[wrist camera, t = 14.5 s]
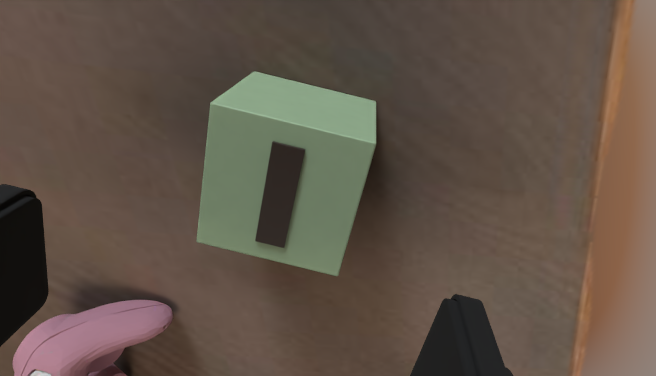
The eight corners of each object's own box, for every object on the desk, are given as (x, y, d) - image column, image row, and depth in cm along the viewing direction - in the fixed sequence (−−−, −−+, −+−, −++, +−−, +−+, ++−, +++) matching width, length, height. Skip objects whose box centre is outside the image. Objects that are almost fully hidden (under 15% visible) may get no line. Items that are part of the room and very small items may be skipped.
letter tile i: (253, 70, 17) (208, 103, 12) (376, 101, 17) (376, 144, 12) (238, 181, 19) (194, 244, 15) (346, 208, 19) (337, 279, 15)
